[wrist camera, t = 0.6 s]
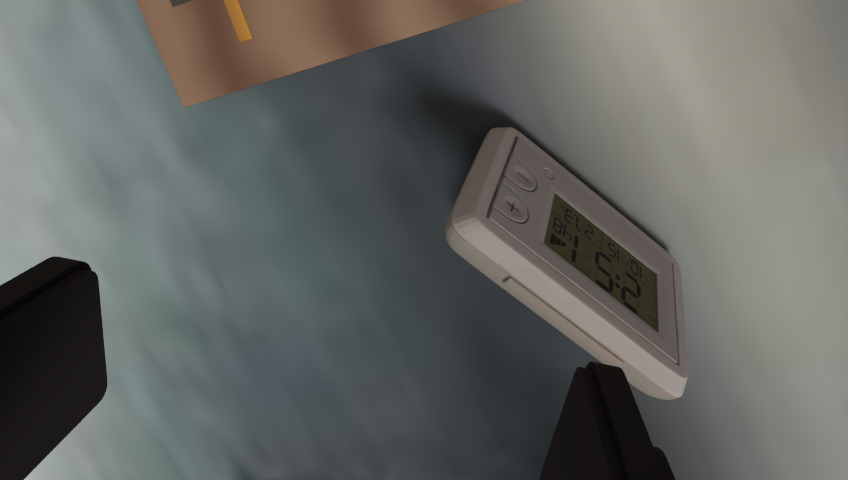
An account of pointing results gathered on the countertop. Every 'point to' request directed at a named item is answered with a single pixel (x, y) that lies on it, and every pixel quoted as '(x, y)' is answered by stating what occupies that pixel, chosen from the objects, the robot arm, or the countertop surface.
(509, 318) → the countertop surface
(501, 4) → the console board
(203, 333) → the countertop surface
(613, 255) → the digital clock
